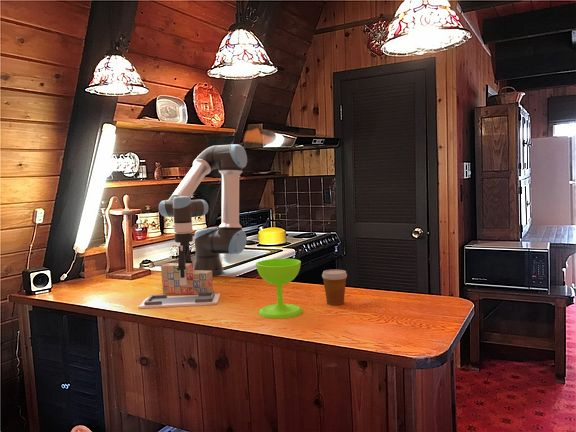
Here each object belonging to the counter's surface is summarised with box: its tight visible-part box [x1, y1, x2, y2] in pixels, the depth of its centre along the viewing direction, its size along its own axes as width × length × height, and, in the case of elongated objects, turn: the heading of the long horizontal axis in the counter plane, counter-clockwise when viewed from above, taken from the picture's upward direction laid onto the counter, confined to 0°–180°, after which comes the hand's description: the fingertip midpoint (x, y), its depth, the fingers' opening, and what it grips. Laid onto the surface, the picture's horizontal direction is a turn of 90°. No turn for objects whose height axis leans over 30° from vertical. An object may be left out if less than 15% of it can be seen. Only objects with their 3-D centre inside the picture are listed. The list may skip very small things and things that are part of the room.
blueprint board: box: [137, 291, 221, 309], centre depth 198 cm, size 14×30×2 cm, turn 93°
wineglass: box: [255, 258, 304, 320], centre depth 178 cm, size 16×16×18 cm
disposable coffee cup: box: [321, 269, 348, 306], centre depth 187 cm, size 10×10×12 cm
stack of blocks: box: [160, 262, 214, 295], centre depth 214 cm, size 21×6×12 cm, turn 72°
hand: (185, 281), depth 214 cm, fingers open, 13 cm apart
